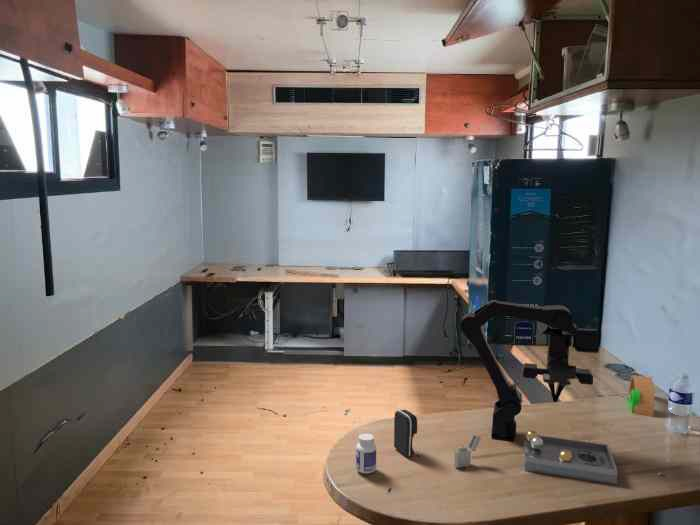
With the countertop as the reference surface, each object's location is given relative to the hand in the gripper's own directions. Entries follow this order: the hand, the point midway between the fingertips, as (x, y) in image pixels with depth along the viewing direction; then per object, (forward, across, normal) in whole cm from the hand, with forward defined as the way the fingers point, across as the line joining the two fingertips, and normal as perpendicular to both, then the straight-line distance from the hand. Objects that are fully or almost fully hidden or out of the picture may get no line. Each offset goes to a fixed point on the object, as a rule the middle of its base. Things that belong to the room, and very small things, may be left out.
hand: (554, 401), depth 154 cm
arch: (+12, +31, +39) cm, 51 cm away
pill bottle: (+13, -48, -32) cm, 59 cm away
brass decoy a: (+8, -6, -7) cm, 12 cm away
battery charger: (+13, -40, -19) cm, 46 cm away
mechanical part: (+13, +30, +36) cm, 48 cm away
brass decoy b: (+8, +2, -17) cm, 19 cm away
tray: (+12, +3, -12) cm, 18 cm away
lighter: (+13, -23, -21) cm, 34 cm away
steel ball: (+8, -5, -11) cm, 15 cm away
